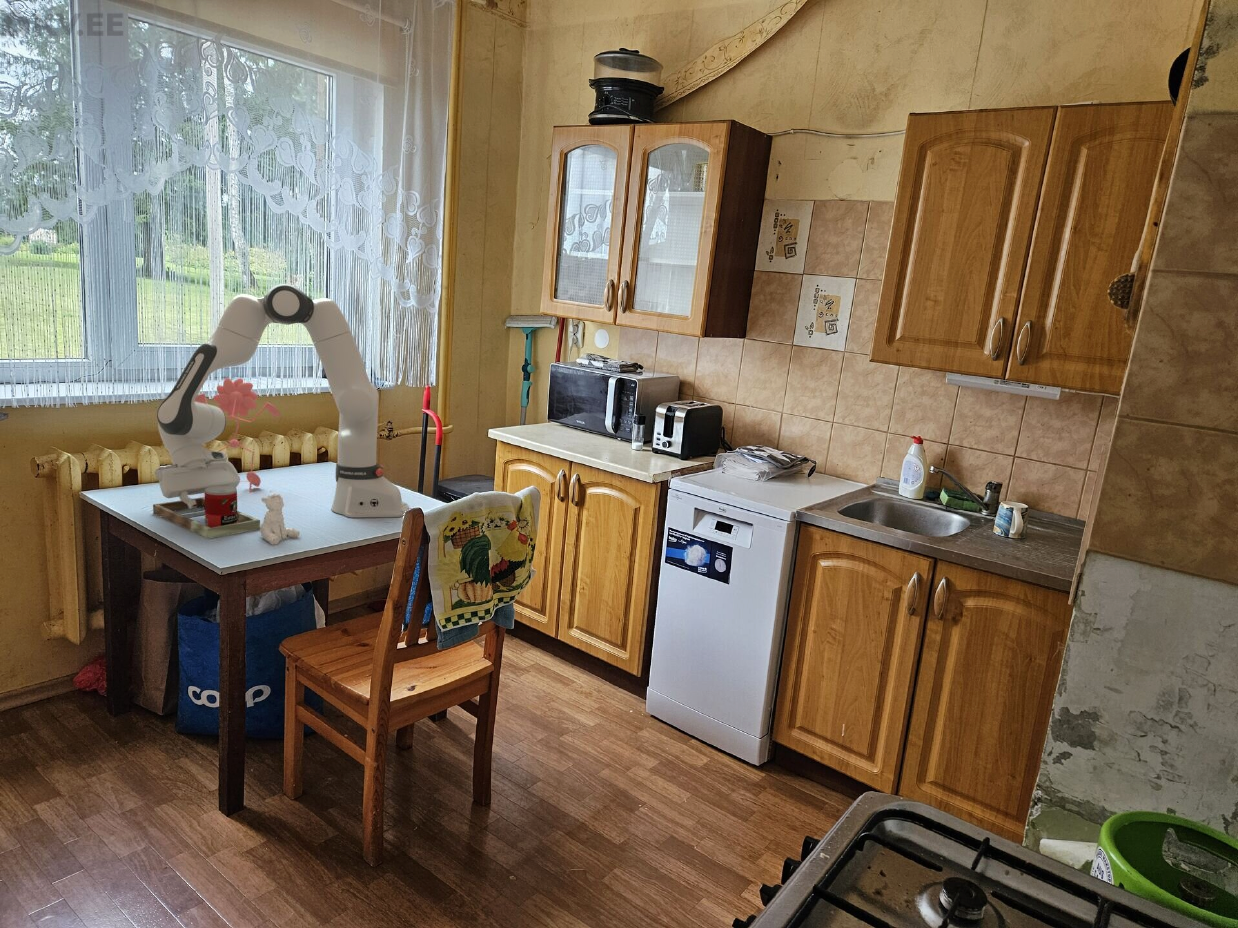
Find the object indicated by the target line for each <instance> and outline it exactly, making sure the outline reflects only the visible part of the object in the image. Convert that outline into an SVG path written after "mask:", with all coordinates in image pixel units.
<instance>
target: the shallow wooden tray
mask: <svg viewBox="0 0 1238 928" xmlns="http://www.w3.org/2000/svg"><path fill="white" fill-rule="evenodd" d="M190 499H191V500H195V501H196V503H197V506H196V508H192V509H189V507H188V505H187V504H186V503H184V502H183V501H182V500H174V501H169V502H161V503H155V504H152V511H153V512H152V513H153V514H154V515H156V514H157V515H156V516H158V517H160V516H161V517H160V518H163V519H165V520H167V521H169V522H172V523H174V524H176V525H178V526H180V527H183V528H185V529H187V530H188V531H191V532H193V533H195V534H196V535H197V534H198V535H200V536H202V537H204V538H206V539H207V540H209V539H214V538H220V537H226V536H230V535H236V534H240V533H247V532H251V531H256V530H260V527H261V520H260V519H258V518H256V517H253V516H251V515H249V514H246V513H243V512H241V511H239V510H237V523H235V524H229V525H223V526H218V527H212V528H210V527H207V526H205V524H203V523H200V522H198V521H196V520H193V519H191V518H194V517H200V516H205V496H203V497H202V496H201V497H194V498H190Z"/></svg>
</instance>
